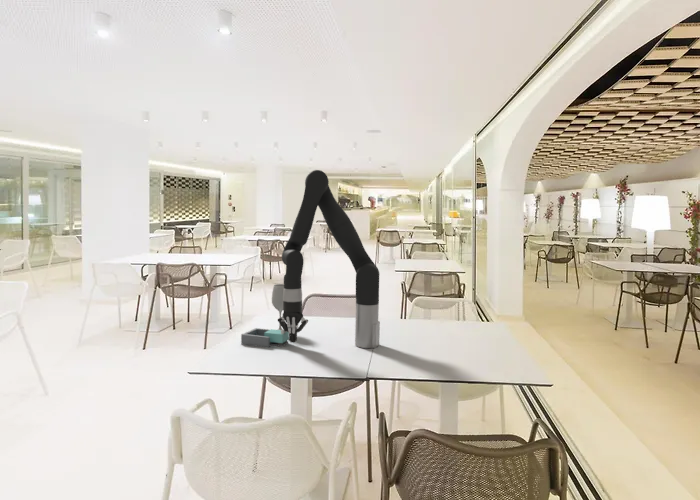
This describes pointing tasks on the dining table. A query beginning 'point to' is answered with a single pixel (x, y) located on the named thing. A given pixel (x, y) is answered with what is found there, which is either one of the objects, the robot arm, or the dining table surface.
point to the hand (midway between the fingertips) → (293, 342)
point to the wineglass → (278, 298)
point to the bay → (256, 338)
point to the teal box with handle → (277, 337)
